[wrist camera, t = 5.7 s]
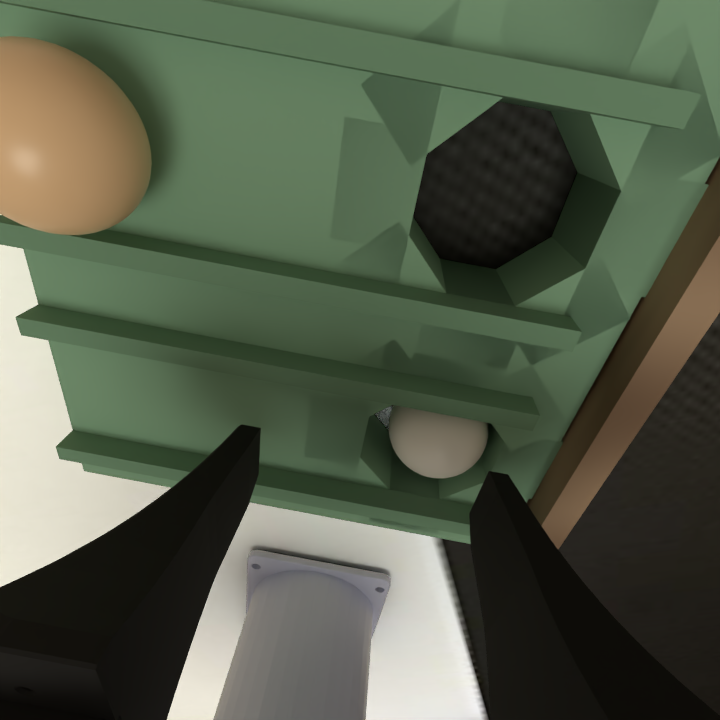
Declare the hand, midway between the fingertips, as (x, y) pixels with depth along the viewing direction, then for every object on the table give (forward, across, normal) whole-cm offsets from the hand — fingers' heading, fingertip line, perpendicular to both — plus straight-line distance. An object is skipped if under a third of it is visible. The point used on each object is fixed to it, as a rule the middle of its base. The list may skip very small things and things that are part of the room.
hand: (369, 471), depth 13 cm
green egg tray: (+4, +2, -4) cm, 7 cm away
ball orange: (0, +8, -8) cm, 11 cm away
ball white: (+3, -2, 0) cm, 4 cm away
